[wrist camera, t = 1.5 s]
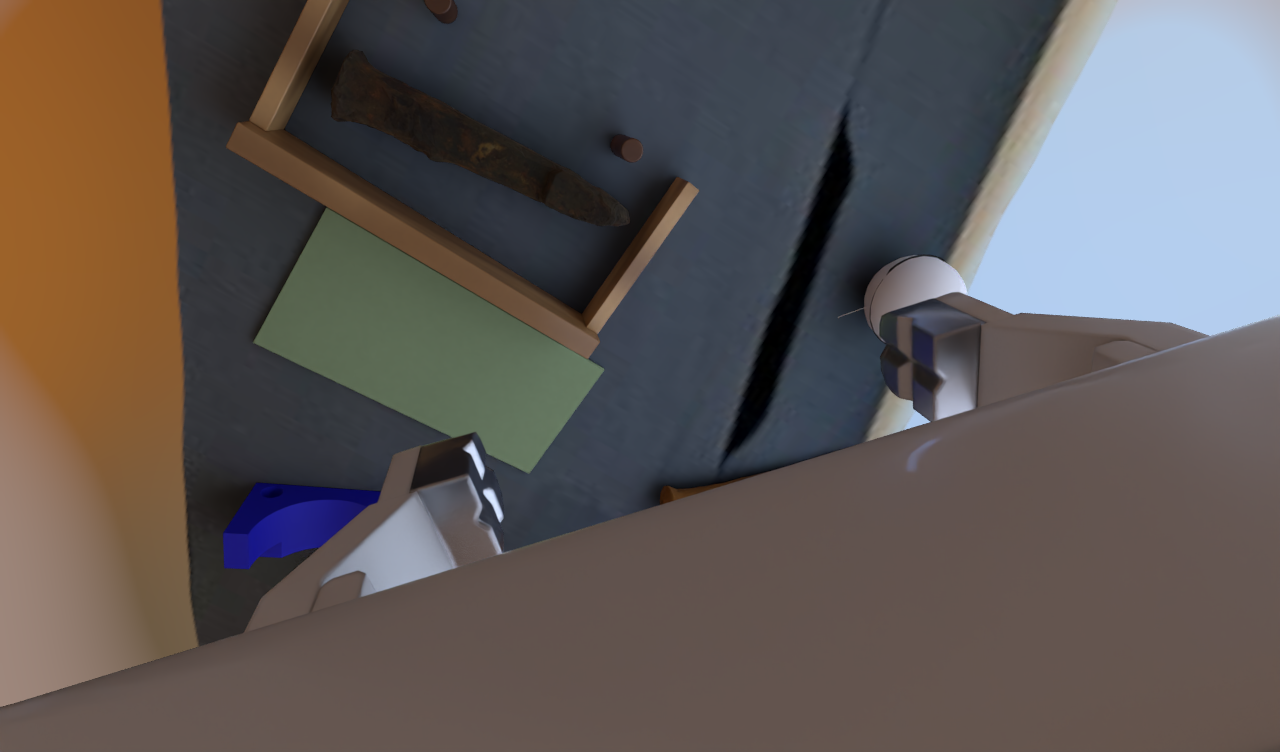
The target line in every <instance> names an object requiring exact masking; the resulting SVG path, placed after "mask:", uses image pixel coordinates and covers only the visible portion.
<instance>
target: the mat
mask: <svg viewBox="0 0 1280 752" xmlns="http://www.w3.org/2000/svg"><path fill="white" fill-rule="evenodd" d="M253 343H255V344H257V345H259V346H261V347H263V348H265V349H268V350H270V351H272V352H274V353H276V354H278V355H280V356H282V357H284V358H287V359H289V360H291V361H293V362H295V363H297V364H299V365H301V366H303V367H305V368H308V369H310V370H312V371H314V372H316V373H318V374H320V375H322V376H324V377H327V378H329V379H331V380H333V381H335V382H337V383H339V384H341V385H343V386H345V387H348V388H350V389H352V390H354V391H356V392H358V393H360V394H362V395H364V396H367V397H369V398H371V399H373V400H375V401H377V402H379V403H381V404H383V405H386V406H388V407H390V408H392V409H394V410H396V411H398V412H400V413H402V414H404V415H407V416H409V417H411V418H413V419H415V420H417V421H419V422H421V423H423V424H426V425H428V426H430V427H432V428H434V429H436V430H438V431H440V432H442V433H445V434H447V435H449V436H451V437H457V436H461V435H465V434H468V433H472V432H476V433H477V434H478V435H479V436H480V439H481V441H482V443H483V446H484V448H485V450H486V453H487V454H489V455H491V456H493V457H495V458H497V459H499V460H501V461H504V462H506V463H508V464H510V465H512V466H514V467H516V468H518V469H520V470H522V471H525V472H527V473H530V472H531V470H532V469H533V468H534V466H535V465H536V464H537V462H538V461H539V459H540V458H541V457H542V455H543V454H544V453H545V451H546V450H547V448H548V447H549V446H550V444H551V443H552V442H553V440H554V439H555V437H556V436H557V435H558V433H559V432H560V430H561V429H562V428H563V426H564V425H565V424H566V422H567V421H568V419H569V418H570V417H571V415H572V414H573V413H574V411H575V410H576V408H577V407H578V406H579V404H580V403H581V402H582V400H583V399H584V397H585V396H586V395H587V393H588V392H589V390H590V389H591V388H592V386H593V385H594V384H595V382H596V381H597V379H598V378H599V377H600V375H601V374H602V373H603V371H604V368H602V367H601V366H599V365H597V364H596V363H594V362H592V361H590V360H589V359H586V358H584V357H582V356H581V355H579V354H577V353H576V352H574V351H572V350H570V349H569V348H567V347H565V346H564V345H562V344H560V343H559V342H557V341H555V340H553V339H552V338H550V337H548V336H547V335H545V334H543V333H541V332H540V331H538V330H536V329H535V328H533V327H531V326H530V325H528V324H526V323H524V322H523V321H521V320H519V319H518V318H516V317H514V316H512V315H511V314H509V313H507V312H506V311H504V310H502V309H501V308H499V307H497V306H495V305H494V304H492V303H490V302H489V301H487V300H485V299H483V298H482V297H480V296H478V295H477V294H475V293H473V292H472V291H470V290H468V289H466V288H465V287H463V286H461V285H460V284H458V283H456V282H454V281H453V280H451V279H449V278H448V277H446V276H444V275H443V274H441V273H439V272H437V271H436V270H434V269H432V268H431V267H429V266H427V265H425V264H424V263H422V262H420V261H419V260H417V259H415V258H414V257H412V256H410V255H408V254H407V253H405V252H403V251H402V250H400V249H398V248H396V247H395V246H393V245H391V244H390V243H388V242H386V241H385V240H383V239H381V238H379V237H378V236H376V235H374V234H373V233H371V232H369V231H367V230H366V229H364V228H362V227H361V226H359V225H357V224H356V223H354V222H352V221H350V220H349V219H347V218H345V217H344V216H342V215H340V214H338V213H337V212H335V211H333V210H332V209H330V208H328V207H327V208H326V209H325V211H324V213H323V215H322V216H321V218H320V220H319V222H318V224H317V226H316V228H315V229H314V231H313V233H312V235H311V237H310V239H309V240H308V242H307V244H306V246H305V248H304V250H303V251H302V253H301V255H300V257H299V259H298V261H297V263H296V264H295V266H294V268H293V270H292V272H291V274H290V275H289V277H288V279H287V281H286V283H285V285H284V286H283V288H282V290H281V292H280V294H279V296H278V297H277V299H276V301H275V303H274V305H273V307H272V309H271V310H270V312H269V314H268V316H267V318H266V320H265V321H264V323H263V325H262V327H261V329H260V331H259V332H258V334H257V336H256V338H255V340H254V342H253Z"/></svg>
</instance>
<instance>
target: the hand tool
mask: <svg viewBox="0 0 1280 752" xmlns="http://www.w3.org/2000/svg"><path fill="white" fill-rule="evenodd" d="M331 95H332V103H331V108H332V115H331V117H332V118H333V119H334V120H335V121H339V122H341V121H351V122H357V123H360V124H366V125H367V126H369V127H372V128H376V129H378V130H380V131H382V132H385V133H387V134H389V135H392V136H394V137H395V138H397V139H399V140H400V141H402V142H403V143H405V144H408V145H410V146H411V147H413V149H415V150H417V151H421V152H423V153H424V154H426V155H427V157H428V158H429V159H430V160H433V161H436V162H449V163H454V164H456V165H459V166H461V167H463V168H466V169H468V170H470V171H472V172H474V173H476V174H478V175H480V176H482V177H485V178H487V179H490V180H492V181H495V182H497V183H500V184H502V185H504V186H507V187H509V188H511V189H513V190H515V191H518V192H520V193H522V194H524V195H526V196H528V197H530V198H532V199H534V200H536V201H539V202H542V203H544V204H545V205H547V206H548V207H550V208H552V209H555V210H557V211H558V212H560V213H562V214H566V215H568V216H570V217H572V218H574V219H578V220H581V221H585V222H587V223H591V224H594V225H597V226H606V225H610V226H621V225H626V224H629V223H630V218H629V212H628V210H627V209H626V208H625V207H624V206H622V205H621V204H620V203H619V202H618V201H617V200H616V199H614V198H613V197H611V196H610V195H609V194H608V193H606V192H605V191H604V190H602V189H601V188H598V187H595V186H593V185H591V184H590V183H588V182H587V181H586V180H584V179H583V178H581V176H580V175H578V174H576V173H575V172H573V171H571V170H570V169H568V168H565V167H563V166H561V165H559V164H557V163H555V162H552V161H551V160H549V159H547V158H545V157H544V156H542V155H540V154H538V153H536V152H534V151H533V150H531V149H529V148H527V147H525V146H523V145H521V144H519V143H518V142H516V141H514V140H512V139H510V138H508V137H506V136H505V135H503V134H501V133H499V132H497V131H495V130H493V129H491V128H489V127H487V126H485V125H483V124H481V123H479V122H477V121H475V120H474V119H472V118H470V117H468V116H466V115H465V114H463V113H461V112H459V111H458V110H456V109H453V108H452V107H450V106H449V105H447V104H446V103H444V102H442V101H440V100H438V99H436V98H433V97H431V96H429V95H427V94H425V93H423V92H421V91H419V90H417V89H414V88H412V87H410V86H408V85H407V84H405V83H404V82H402V81H400V80H397V79H395V78H392V77H390V76H388V75H386V74H384V73H383V72H381V71H379V70H377V69H375V68H374V67H373V66H372V65H371V64H370V63H369V62H368V60H367V58H366V57H365V55H364V53H363V52H362V51H361V52H360V51H359V50H353V51H351V52H350V53H349V54H348V55H347V56H346V58H345V59H344V61H343V64H342V66H341V69H340V71H339V74H338V76H337V79H336V81H335V83H334V86H333V88H332V90H331Z"/></svg>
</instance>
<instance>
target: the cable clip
mask: <svg viewBox="0 0 1280 752" xmlns="http://www.w3.org/2000/svg"><path fill="white" fill-rule="evenodd" d="M380 493H381V492H380V491H366V490H352V489H338V488H324V487H310V486H296V485H282V484H268V483H256V484H255V486H254V487H253V489H252V490H251V492H250V493H249V495H248V496H247V498H246V499H245V501H244V502H243V504H242V505H241V507H240V508H239V510H238V511H237V513H236V514H235V516H234V518H233V519H232V521H231V522H230V524H229V525H228V527H227V528H226V530H225V531H224V533H223V542H224V568H236V569H249V568H250V567H251V565H252V564H253V562H254V561H255V560H256V559H257V558H258V557H278V558H282V557H284V556H287V555H289V554H292V553H295V552H298V551H302V550H306V549H311V548H318V547H321V546H322V545H323V544H325V543H326V542H327V541H328V540H329V539H330V538H332V537H333V536H334V535H335V534H336V533H337V532H338V531H340V530H341V529H342V528H343V527H344V526H345V525H347V524H348V523H349V522H350V521H351V520H352V519H354V518H355V517H356V516H357V515H358V514H359V513H361V512H362V511H363V510H364V509H365V508H366V507H368V506H369V505H371V504H375V503H377V502H378V499H379V496H380Z"/></svg>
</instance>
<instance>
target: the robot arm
mask: <svg viewBox="0 0 1280 752" xmlns="http://www.w3.org/2000/svg"><path fill="white" fill-rule="evenodd" d="M879 336H880V337H881V338H882V339H883V341H884V342H885V343H886V344H887V345H886V347H885V349H884V350H883V352H882V354H881V356H880V361H881V372H882V375H883V377H884V380H885V383H886V385H887V386H888V387H889V389H890V390H891V391H892V392H893V393H894V394H895V395H896V396H898V397H899V398H902V399H906V400H911V401H913V409H914V410H916V411H917V412H918V413H920V414H921V415H922V416H924V417H925V418H927V419H928V420H929V421H930V423H926V424H923V425H920V426H916V427H913V428H910V429H907V430H903V431H900V432H897V433H894V434H890V435H887V436H884V437H881V438H877V439H874V440H871V441H868V442H864V443H861V444H858V445H855V446H851V447H848V448H845V449H842V450H838V451H835V452H832V453H828V454H825V455H822V456H819V457H815V458H812V459H809V460H806V461H802V462H799V463H796V464H793V465H789V466H786V467H783V468H779V469H776V470H773V471H770V472H766V473H763V474H760V475H757V476H753V477H750V478H747V479H744V480H740V481H737V482H734V483H731V484H727V485H724V486H721V487H717V488H714V489H711V490H708V491H704V492H701V493H698V494H695V495H691V496H688V497H685V498H682V499H678V500H675V501H672V502H668V503H665V504H662V505H659V506H655V507H652V508H649V509H646V510H642V511H639V512H636V513H633V514H629V515H626V516H623V517H619V518H616V519H613V520H610V521H606V522H603V523H600V524H597V525H593V526H590V527H587V528H584V529H580V530H577V531H574V532H570V533H567V534H564V535H561V536H557V537H554V538H551V539H548V540H544V541H541V542H538V543H535V544H531V545H528V546H525V547H521V548H518V549H515V550H512V551H508V552H505V553H503V549H504V532H503V530H502V527H501V525H500V522H501V521H502V519H503V518H504V505H503V499H502V493H501V490H500V487H499V483H498V480H497V478H496V475H495V473H494V470H492V469H490V468H489V467H487V466H485V460H486V450H485V448H484V446H483V443H482V441H481V439H480V436H479V435H478V434H477V433H476V432H472V433H468V434H465V435H461V436H457V437H453V438H450V439H446V440H442V441H439V442H435V443H431V444H428V445H424V446H418V447H415V448H412V449H409V450H406V451H403V452H400V453H397V454H394V455H393V457H392V460H391V463H390V466H389V469H388V472H387V475H386V478H385V481H384V484H383V487H382V490H381V493H380V496H379V499H378V502H377V503H375V504H371V505H369V506H368V507H366V508H365V509H364V510H363V511H362V512H361V513H359V514H358V515H357V516H356V517H355V518H354V519H352V520H351V521H350V522H349V523H348V524H347V525H345V526H344V527H343V528H342V529H341V530H340V531H338V532H337V533H336V534H335V535H334V536H333V537H332V538H330V539H329V540H328V541H327V542H326V543H325V544H323V545H322V546H321V547H320V548H319V549H318V550H316V551H315V552H314V553H313V554H312V555H311V556H309V557H308V558H307V559H306V560H305V561H304V562H302V563H301V564H300V565H299V566H298V567H297V568H296V569H294V570H293V571H292V572H291V573H290V574H289V575H287V576H286V577H285V578H284V579H283V580H282V581H280V582H279V583H278V584H277V585H276V586H275V587H273V588H272V589H271V590H270V591H269V592H268V593H266V594H265V595H264V596H263V597H262V598H261V600H260V602H259V604H258V606H257V608H256V610H255V612H254V614H253V616H252V618H251V620H250V621H249V623H248V625H247V627H246V629H245V631H244V633H242V634H239V635H235V636H232V637H229V638H226V639H222V640H219V641H216V642H213V643H209V644H206V645H203V646H200V647H196V648H193V649H190V650H187V651H183V652H180V653H177V654H174V655H170V656H167V657H164V658H161V659H157V660H154V661H151V662H147V663H144V664H141V665H138V666H134V667H131V668H128V669H125V670H121V671H118V672H115V673H112V674H108V675H106V676H102V677H99V678H95V679H92V680H89V681H86V682H82V683H79V684H76V685H73V686H69V687H66V688H63V689H60V690H57V691H53V692H50V693H46V694H43V695H40V696H37V697H34V698H30V699H27V700H24V701H20V702H17V703H14V704H10V705H6V706H3V707H0V752H1280V315H1277V316H1274V317H1271V318H1268V319H1264V320H1261V321H1258V322H1255V323H1251V324H1248V325H1245V326H1242V327H1239V328H1235V329H1232V330H1229V331H1225V332H1222V333H1219V334H1216V335H1212V336H1209V335H1205V334H1202V333H1200V332H1197V331H1194V330H1191V329H1188V328H1185V327H1182V326H1179V325H1176V324H1173V323H1165V322H1151V321H1136V320H1121V319H1106V318H1090V317H1076V316H1060V315H1045V314H1030V313H1020V314H1016V315H1013V314H1010V313H1008V312H1006V311H1003V310H1001V309H998V308H996V307H994V306H991V305H989V304H987V303H984V302H982V301H980V300H977V299H975V298H972V297H970V296H968V295H965V294H963V293H960V292H951V293H948V294H945V295H942V296H939V297H936V298H932V299H928V300H925V301H922V302H919V303H916V304H913V305H909V306H906V307H903V308H900V309H897V310H893V311H890V312H888V313H886V314H884V315H882V316H881V319H880V323H879Z"/></svg>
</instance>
